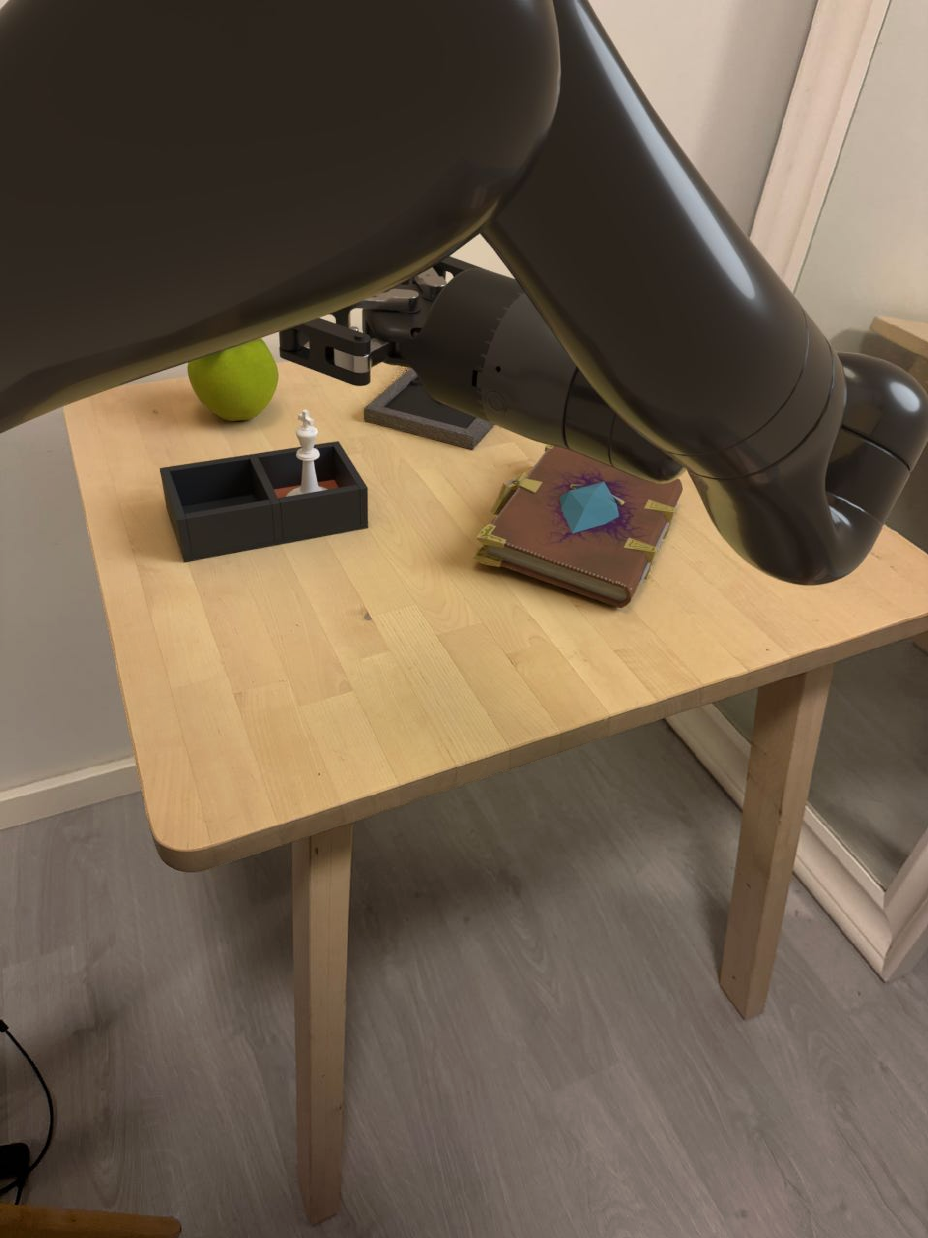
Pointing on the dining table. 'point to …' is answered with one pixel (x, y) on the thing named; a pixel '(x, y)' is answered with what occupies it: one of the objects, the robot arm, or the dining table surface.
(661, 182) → the robot arm
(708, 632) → the dining table surface
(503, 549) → the book
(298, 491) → the chess piece
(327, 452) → the caddy
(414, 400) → the picture frame
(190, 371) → the fruit
